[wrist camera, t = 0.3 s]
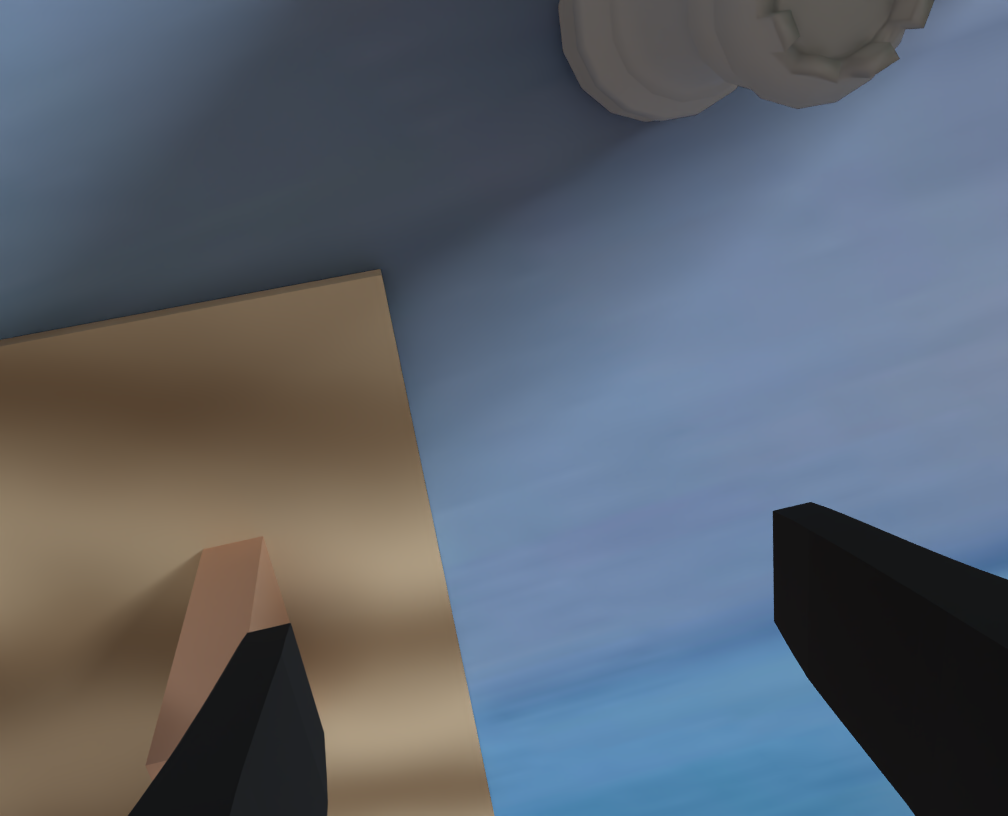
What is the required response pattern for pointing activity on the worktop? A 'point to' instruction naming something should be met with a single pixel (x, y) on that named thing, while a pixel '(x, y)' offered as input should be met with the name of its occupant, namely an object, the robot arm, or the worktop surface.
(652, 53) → the rook chess piece
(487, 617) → the worktop surface
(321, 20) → the worktop surface
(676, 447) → the worktop surface
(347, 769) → the wooden board
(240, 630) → the tile
